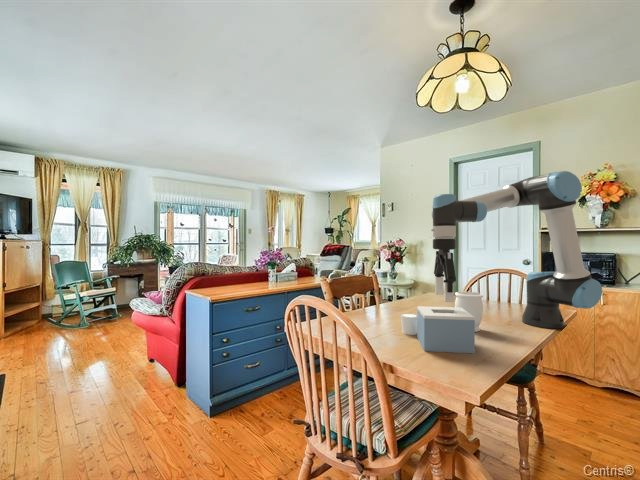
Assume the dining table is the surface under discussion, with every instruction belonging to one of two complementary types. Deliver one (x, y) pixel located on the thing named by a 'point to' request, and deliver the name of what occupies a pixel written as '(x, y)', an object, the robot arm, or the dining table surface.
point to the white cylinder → (409, 324)
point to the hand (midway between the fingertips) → (443, 298)
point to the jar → (471, 305)
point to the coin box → (446, 329)
